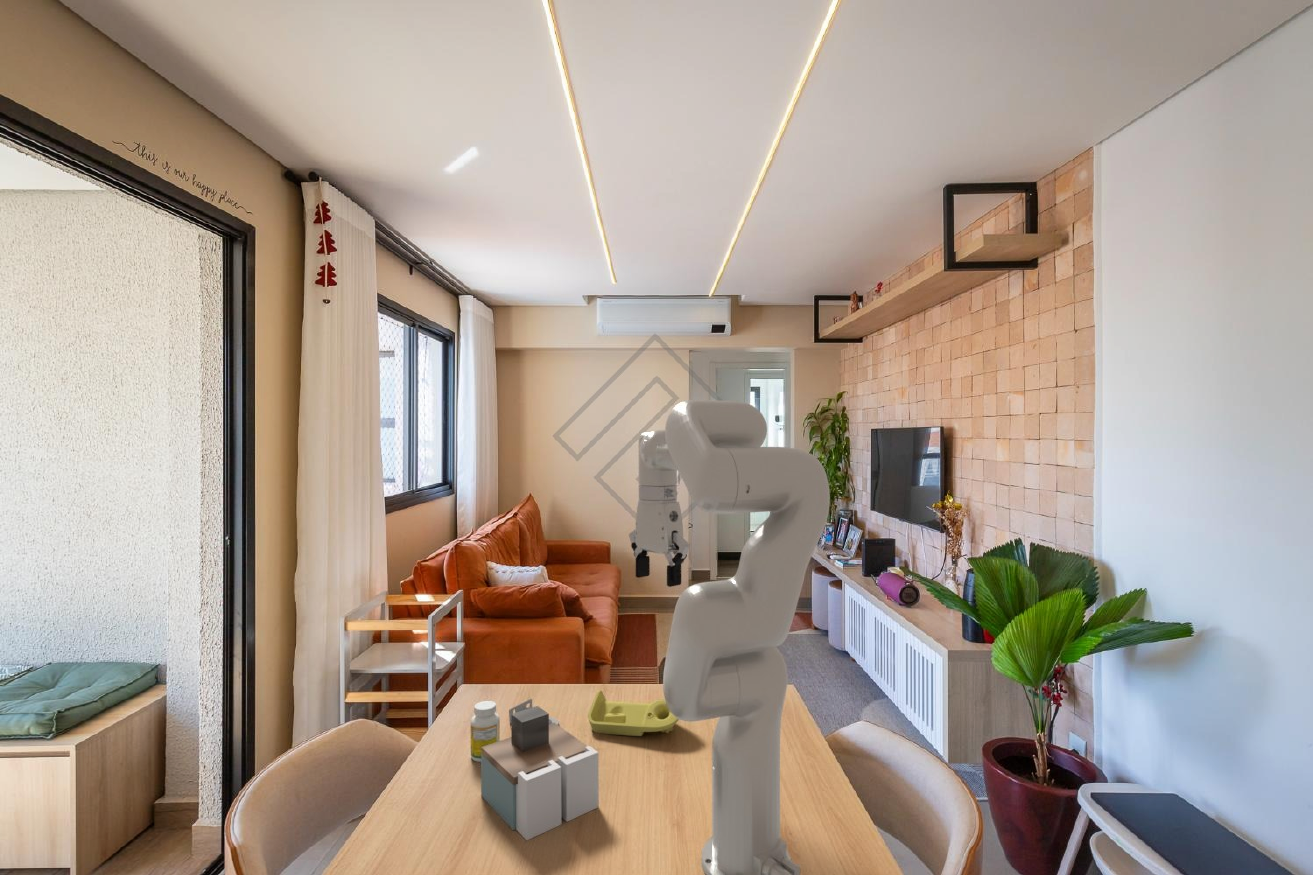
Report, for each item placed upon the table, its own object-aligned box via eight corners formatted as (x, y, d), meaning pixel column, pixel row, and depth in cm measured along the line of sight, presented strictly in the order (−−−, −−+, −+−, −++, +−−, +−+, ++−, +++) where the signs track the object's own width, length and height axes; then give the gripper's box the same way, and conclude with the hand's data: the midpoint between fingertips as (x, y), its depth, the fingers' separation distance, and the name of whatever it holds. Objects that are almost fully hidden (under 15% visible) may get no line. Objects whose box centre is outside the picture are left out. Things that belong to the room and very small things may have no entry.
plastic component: (584, 723, 125) (600, 684, 133) (593, 747, 128) (607, 708, 136) (677, 729, 119) (687, 688, 128) (684, 755, 122) (693, 713, 131)
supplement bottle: (491, 764, 113) (491, 712, 113) (465, 761, 114) (464, 709, 114) (504, 749, 119) (504, 700, 119) (479, 746, 120) (479, 697, 120)
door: (481, 754, 103) (481, 717, 103) (554, 728, 112) (554, 695, 112) (517, 788, 93) (517, 748, 93) (594, 757, 102) (594, 720, 102)
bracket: (543, 738, 124) (543, 721, 124) (508, 725, 129) (508, 709, 129) (565, 725, 129) (565, 708, 129) (531, 713, 135) (531, 697, 135)
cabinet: (481, 795, 103) (481, 742, 103) (553, 766, 112) (553, 717, 112) (523, 841, 92) (523, 781, 91) (601, 805, 100) (600, 751, 100)
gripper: (701, 496, 116) (702, 586, 116) (645, 490, 129) (645, 570, 129) (672, 498, 111) (672, 592, 111) (616, 492, 125) (616, 576, 125)
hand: (657, 580), depth 120 cm, fingers open, 9 cm apart
